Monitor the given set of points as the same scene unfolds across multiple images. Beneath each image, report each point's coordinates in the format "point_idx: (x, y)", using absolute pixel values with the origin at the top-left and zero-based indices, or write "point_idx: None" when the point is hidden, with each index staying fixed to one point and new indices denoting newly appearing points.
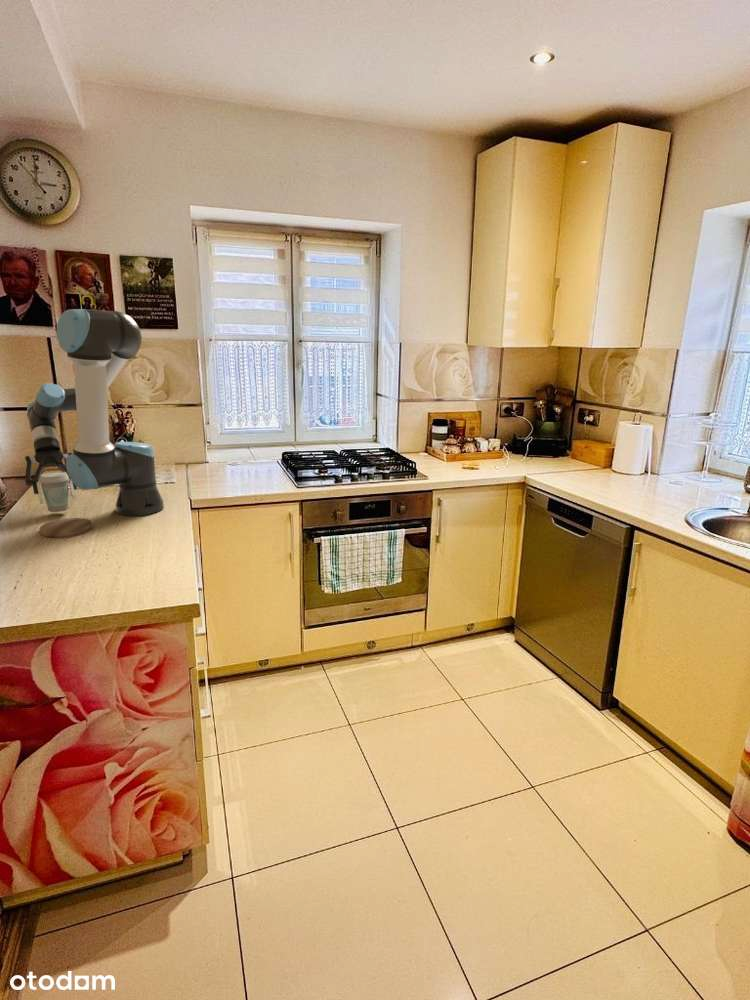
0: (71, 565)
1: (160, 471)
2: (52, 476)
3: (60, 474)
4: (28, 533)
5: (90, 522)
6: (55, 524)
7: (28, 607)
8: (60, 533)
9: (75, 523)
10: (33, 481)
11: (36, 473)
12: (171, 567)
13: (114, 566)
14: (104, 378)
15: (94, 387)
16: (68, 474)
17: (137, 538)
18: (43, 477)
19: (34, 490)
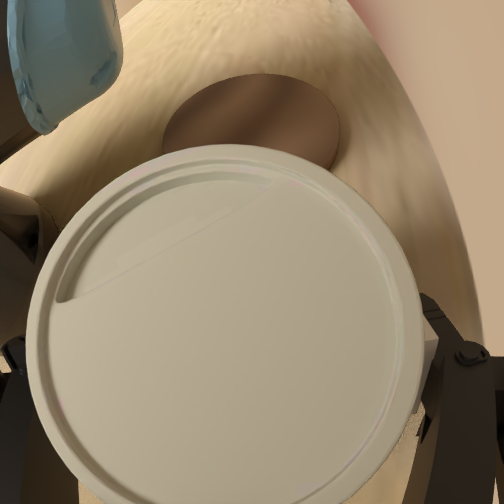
0: (259, 5)
1: None
2: (223, 154)
3: (98, 287)
4: (378, 148)
5: (169, 129)
6: (286, 141)
7: None
8: (271, 75)
9: (216, 131)
10: (473, 348)
11: (479, 471)
12: (146, 5)
13: (203, 2)
14: None
15: None
16: (33, 402)
17: (122, 66)
18: (355, 194)
19: (429, 302)
